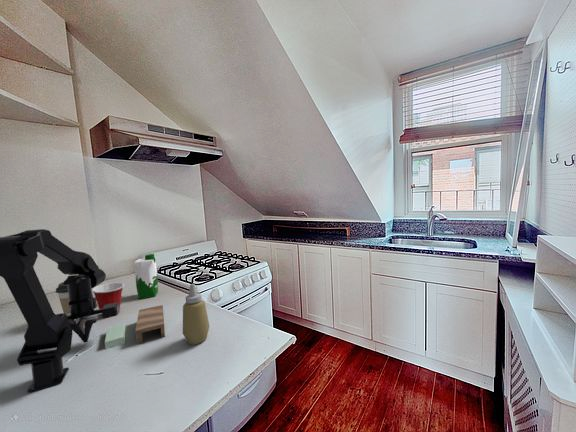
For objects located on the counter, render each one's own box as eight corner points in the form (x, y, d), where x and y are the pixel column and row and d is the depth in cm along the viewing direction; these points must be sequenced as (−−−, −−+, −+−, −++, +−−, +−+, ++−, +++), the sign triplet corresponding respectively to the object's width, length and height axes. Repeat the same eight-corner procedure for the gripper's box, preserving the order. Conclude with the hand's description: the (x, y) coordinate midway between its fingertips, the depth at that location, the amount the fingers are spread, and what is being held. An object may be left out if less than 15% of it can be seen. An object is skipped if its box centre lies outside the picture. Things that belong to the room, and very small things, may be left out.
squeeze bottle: (181, 349, 76) (176, 290, 75) (185, 336, 84) (180, 282, 83) (210, 343, 78) (205, 286, 77) (210, 331, 86) (206, 278, 85)
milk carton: (156, 297, 122) (153, 255, 121) (135, 300, 119) (131, 258, 118) (160, 291, 130) (156, 252, 129) (140, 294, 127) (136, 254, 126)
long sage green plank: (124, 344, 81) (123, 336, 81) (105, 350, 79) (104, 342, 79) (125, 329, 92) (124, 322, 91) (108, 334, 89) (107, 326, 89)
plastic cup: (110, 321, 98) (107, 291, 97) (87, 320, 100) (84, 290, 100) (133, 309, 109) (130, 281, 108) (112, 308, 111) (109, 281, 110)
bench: (165, 336, 84) (163, 323, 84) (137, 344, 80) (135, 330, 80) (163, 316, 100) (162, 304, 100) (140, 321, 96) (139, 310, 96)
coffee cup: (100, 314, 105) (96, 279, 104) (64, 327, 96) (60, 288, 95) (89, 309, 111) (85, 276, 110) (55, 320, 102) (50, 284, 101)
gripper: (119, 281, 92) (123, 323, 93) (51, 293, 83) (56, 339, 84) (114, 290, 82) (119, 337, 83) (37, 304, 74) (43, 356, 75)
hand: (86, 341), depth 81 cm, fingers closed
